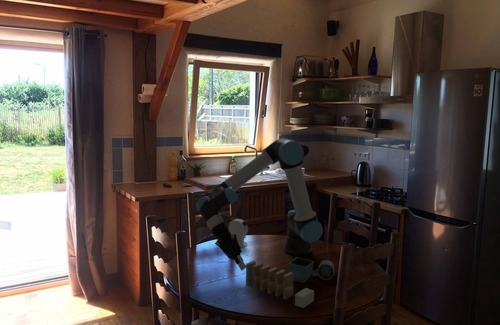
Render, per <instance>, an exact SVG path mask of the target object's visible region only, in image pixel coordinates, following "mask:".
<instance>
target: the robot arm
mask: <svg viewBox="0 0 500 325" xmlns="http://www.w3.org/2000/svg"><path fill="white" fill-rule="evenodd" d="M304 156H305V153H304V148H303V146H302V145H301V144H300V143H299V142H298V141H296V140H294V139H288V138H285V137H284V138H278V139H276V140H273V142H271V143H270V144H269V145H267V146H266V147H265V148H264V149H262V151H261V153H260V154H259V155H257V156H256V157H255V158H253V159H252V160H251V161H249V162H248V163H246V164H245V165H244V166H243V167H241V168H240V169H239V170H237V171H236V172H235V173H233V174H231V175H230V176H229V177H228V178H226V179H225V180H224V181H222V182H221V183H220V184H215V185H214V186H213V187H212V188H211V195H212V197H209V196H208V195H207V196H203V197H201V198H199V199H198V200H197V201H196V204H195V206H196V209H197V210H198V212H199V214H200V216H201V218H202V219H203V220H204V222H205V223H206V225H207V227H208V228H209V229H210V230H211V231H210V232H211V233H212V235H213V236H214V237H215V239H216V241H215V242H214V245H215V246H216V247H218V248H219V249H220V250H221V251H222V252H223V253H224V255H225V256H226V257H227V258H228V259H230V260H233V261H234V263H235V264H236V265H237V266H238V268H239V270H241V271H244V270H246V263H245V262H244V259H243V257H242V256H241V254H242V252H243V251H242V248H240V245H239V243H238V241H237V237H236V234H234V235H232V234H231V233H230V231H229V226H228V225H227V224H226V222H225V220H224V219H223V217H222V215H221V214H220V213H219V212H221V211H222V210H224V209H225V208H228V207H229V206H231V205H232V204H234V203H235V202H236V201H238V199H239V197H238V195H237V193H236V191H237V190H238V189H240V188H241V187H242V186H244V185H245V184H246V183H248V182H249V181H250V180H252V179H254V177H256V176H257V175H258V174H260V173H261V172H262V171H264V170H266V169H267V168H268V167H269V166H272V165H273V166H274V165H275V164H276V163H278V162H279V166H280V169H281V170H282V171H284V174H285V178H286V182H287V186H288V189H289V193H290V194H289V195H290V197H291V202H292V204H293V205H292V206H293V208H294V209H291V210H289V211H287V236H286V239H285V242H284V245H283V251H284V252H285V253H286V254H289V255H294V256H306V255H309V254H311V252H312V245H311V243H315V242H317V241H318V240H319V239H321V236H322V235H323V232H324V229H323V228H324V227H323V226H322V224H321V223H320V221H319V220H318V216H317V213H316V211H314V210H313V209H312V205H311V201H310V196H309V192H308V189H307V185H306V181H305V176H304V173H303V169H302V167H303V165H304V161H303V158H304Z"/></svg>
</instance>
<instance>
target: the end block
mask: <svg viewBox="0 0 500 325" xmlns="http://www.w3.org/2000/svg"><path fill="white" fill-rule="evenodd" d="M294 295H295V296H294V306H297V307H300V308H302V309H304V308H306V307H307V306H309V305H310V304H312V303H314V301H315V290H313V289H310V288H307V287H305V288H303V289H302V290H300V291H298V292H297V293H295V294H294Z"/></svg>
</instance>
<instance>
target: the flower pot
mask: <svg viewBox="0 0 500 325" xmlns="http://www.w3.org/2000/svg"><path fill="white" fill-rule="evenodd" d="M314 264H315V261H313V260H310V259H306V258H303V257H295V258H294V259H292V260H291V261H290V262H289V263H288V265H289V267H288V268H289V272H292V273H293V282H297V283H301V284H304V283H306V282H307V281H308V280H309V279H310V277H311V276H312V271H313V270H314Z"/></svg>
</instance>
